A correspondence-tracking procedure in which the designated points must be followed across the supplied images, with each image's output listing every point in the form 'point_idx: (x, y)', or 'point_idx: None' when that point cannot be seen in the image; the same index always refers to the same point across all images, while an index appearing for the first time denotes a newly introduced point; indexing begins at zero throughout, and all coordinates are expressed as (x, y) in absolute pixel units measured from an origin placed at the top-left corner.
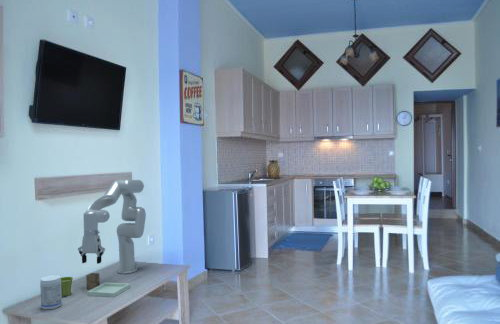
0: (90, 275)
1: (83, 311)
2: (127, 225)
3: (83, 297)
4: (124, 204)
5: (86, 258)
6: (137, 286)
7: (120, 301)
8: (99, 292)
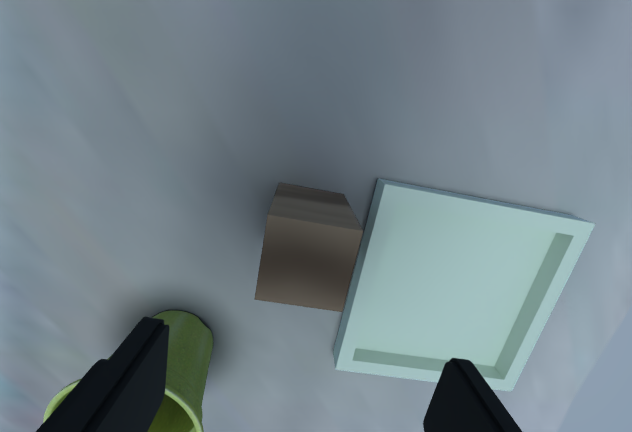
0: (301, 302)
1: None
2: None
3: (324, 375)
4: None
5: (135, 376)
6: (620, 194)
7: (542, 421)
8: (420, 379)
